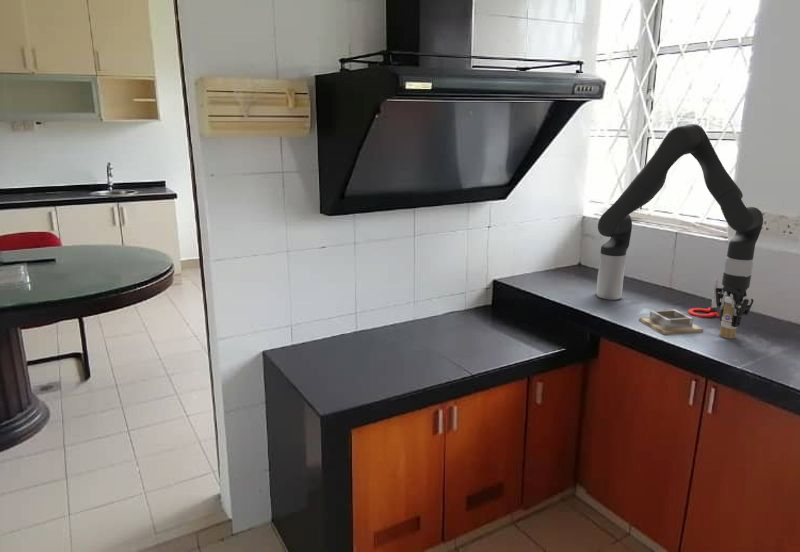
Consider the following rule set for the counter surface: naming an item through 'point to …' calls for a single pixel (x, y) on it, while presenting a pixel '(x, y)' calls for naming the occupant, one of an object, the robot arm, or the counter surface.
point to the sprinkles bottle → (728, 320)
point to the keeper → (670, 322)
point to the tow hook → (712, 309)
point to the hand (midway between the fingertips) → (729, 323)
